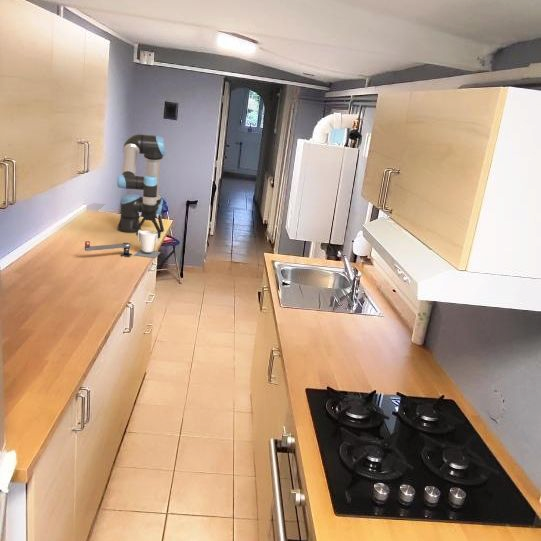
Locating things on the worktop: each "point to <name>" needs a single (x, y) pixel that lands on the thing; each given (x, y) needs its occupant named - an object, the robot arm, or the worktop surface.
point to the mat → (147, 254)
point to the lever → (105, 246)
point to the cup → (147, 240)
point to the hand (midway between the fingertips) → (148, 242)
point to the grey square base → (126, 253)
